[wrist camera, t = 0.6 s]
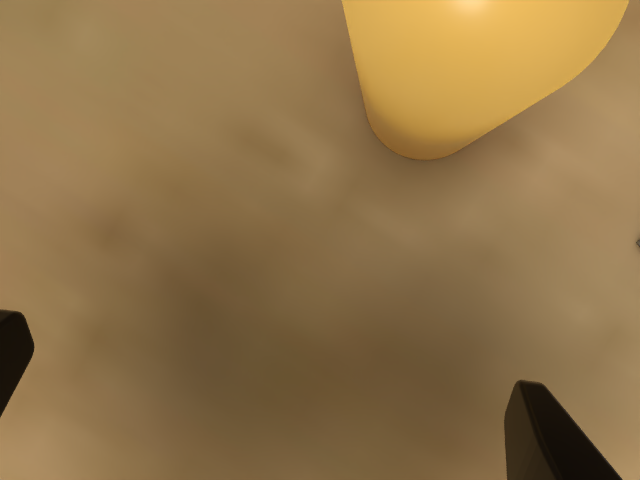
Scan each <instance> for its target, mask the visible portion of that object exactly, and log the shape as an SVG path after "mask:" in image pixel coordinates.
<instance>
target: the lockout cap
mask: <svg viewBox="0 0 640 480" xmlns="http://www.w3.org/2000/svg"><path fill="white" fill-rule="evenodd" d="M628 2H629V0H342V3H343V8H344V13H345V17H346V22H347V27H348V31H349V36H350V41H351V45H352V50H353V55H354V59H355V64H356V69H357V73H358V78H359V83H360V87H361V92H362V97H363V101H364V106H365V111H366V115H367V118H368V121H369V124H370V126H371V128H372V130H373V132H374V133H375V135H376V136H377V137H378V139H379V140H380V141H381V142H382V143H383V144H384V145H385V146H386V147H388V148H389V149H390V150H392V151H393V152H395V153H397V154H399V155H401V156H404V157H407V158H411V159H416V160H434V159H439V158H443V157H446V156H449V155H451V154H453V153H455V152H457V151H459V150H460V149H462V148H464V147H465V146H467V145H468V144H470V143H472V142H473V141H475V140H477V139H478V138H480V137H481V136H483V135H485V134H486V133H488V132H489V131H491V130H493V129H494V128H496V127H498V126H499V125H501V124H502V123H504V122H506V121H507V120H509V119H510V118H512V117H514V116H515V115H517V114H519V113H520V112H522V111H523V110H525V109H527V108H528V107H530V106H531V105H533V104H535V103H536V102H538V101H540V100H541V99H543V98H544V97H546V96H548V95H549V94H551V93H552V92H554V91H556V90H557V89H559V88H561V87H562V86H564V85H565V84H566V83H568V82H569V81H570V80H572V79H573V78H574V77H576V76H577V75H578V74H580V73H581V72H582V71H583V70H584V69H585V68H586V67H587V66H588V65H589V64H590V63H591V62H592V61H593V60H594V59H595V58H596V57H597V55H598V54H599V53H600V52H601V50H602V49H603V48H604V47H605V46H606V44H607V43H608V41H609V40H610V38H611V37H612V35H613V33H614V32H615V30H616V29H617V27H618V25H619V23H620V21H621V19H622V16H623V14H624V12H625V10H626V8H627V5H628Z"/></svg>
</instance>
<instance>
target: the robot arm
mask: <svg viewBox="0 0 640 480" xmlns="http://www.w3.org/2000/svg"><path fill="white" fill-rule="evenodd" d="M33 352H34V341H33V339H32V336H31V333H30V330H29V327H28V324H27V322H26V319H25V317H24V315H23V314H22V313H21V312H18V311H10V310H0V417H1V415H2V413H3V411H4V410H5V408H6V406H7V404H8V402H9V400H10V398H11V396H12V394H13V392H14V390H15V389H16V387H17V385H18V383H19V381H20V379H21V377H22V375H23V373H24V371H25V369H26V368H27V366H28V364H29V362H30V360H31V358H32V356H33ZM504 430H505V448H506V466H507V480H622V478H621V477H620V476H619V475H618V473H617V472H616V471H615V470H614V469H613V467H612V466H611V465H610V464H609V463H608V461H607V460H606V459H605V458H604V457H603V455H602V454H601V453H600V452H599V450H598V449H597V448H596V447H595V446H594V444H593V443H592V442H591V441H590V440H589V438H588V437H587V436H586V435H585V433H584V432H583V431H582V430H581V429H580V427H579V426H578V425H577V424H576V423H575V421H574V420H573V419H572V418H571V417H570V415H569V414H568V413H567V412H566V410H565V409H564V408H563V407H562V406H561V404H560V403H559V402H558V401H557V400H556V398H555V397H554V396H553V395H552V393H551V392H550V391H549V390H548V389H547V387H546V386H545V385H543V384H542V383H539V382H532V381H525V380H519V381H517V382H516V383H515V385H514V388H513V391H512V394H511V397H510V400H509V403H508V406H507V409H506V412H505V419H504Z"/></svg>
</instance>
